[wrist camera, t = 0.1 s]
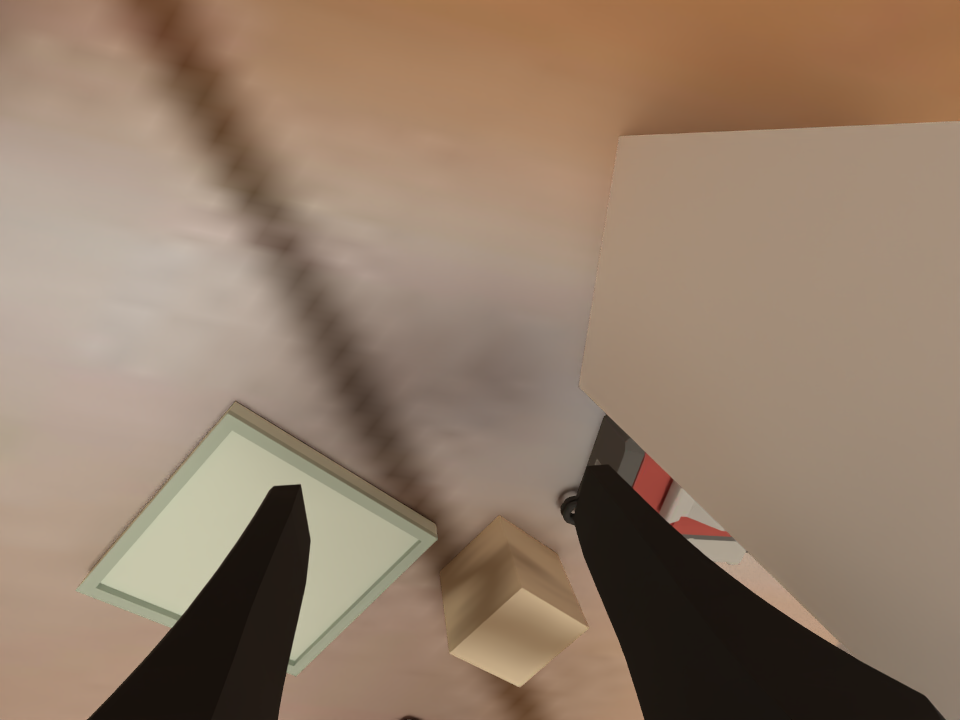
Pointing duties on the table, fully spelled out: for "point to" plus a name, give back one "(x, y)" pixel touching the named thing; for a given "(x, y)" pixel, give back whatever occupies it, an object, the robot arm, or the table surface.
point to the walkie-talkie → (658, 494)
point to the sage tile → (227, 512)
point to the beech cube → (509, 604)
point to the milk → (801, 364)
